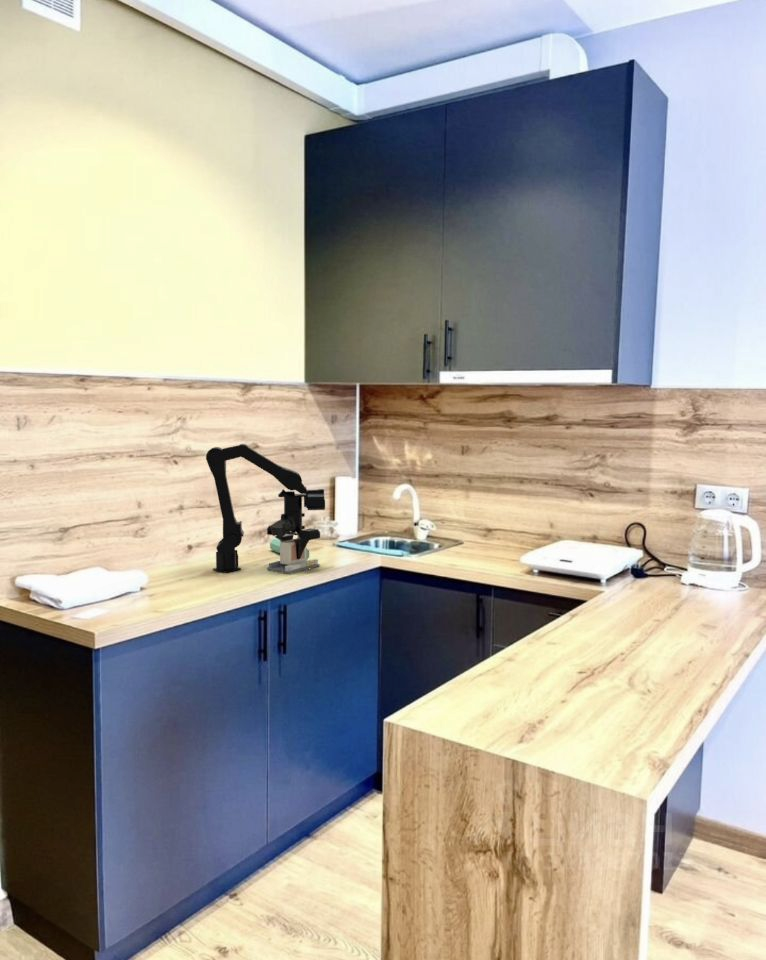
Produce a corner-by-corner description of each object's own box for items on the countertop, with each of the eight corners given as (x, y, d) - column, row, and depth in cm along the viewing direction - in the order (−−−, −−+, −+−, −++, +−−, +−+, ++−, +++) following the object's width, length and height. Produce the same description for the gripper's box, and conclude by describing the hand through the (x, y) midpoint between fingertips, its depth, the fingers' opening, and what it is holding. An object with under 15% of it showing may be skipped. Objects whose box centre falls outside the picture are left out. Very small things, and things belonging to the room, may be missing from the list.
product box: (280, 563, 242) (280, 541, 241) (297, 559, 248) (297, 538, 248) (289, 564, 240) (289, 543, 239) (306, 560, 246) (306, 539, 245)
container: (270, 534, 274) (297, 543, 252) (284, 538, 277) (312, 549, 255) (264, 549, 273) (291, 560, 252) (278, 554, 276) (306, 565, 255)
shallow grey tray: (289, 574, 236) (289, 566, 235) (267, 569, 242) (267, 562, 241) (319, 566, 247) (319, 559, 246) (297, 562, 253) (297, 555, 252)
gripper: (254, 510, 241) (255, 558, 243) (296, 516, 230) (297, 566, 232) (279, 507, 250) (279, 553, 252) (321, 512, 239) (321, 560, 241)
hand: (293, 558), depth 244 cm, fingers closed on product box, 4 cm apart
